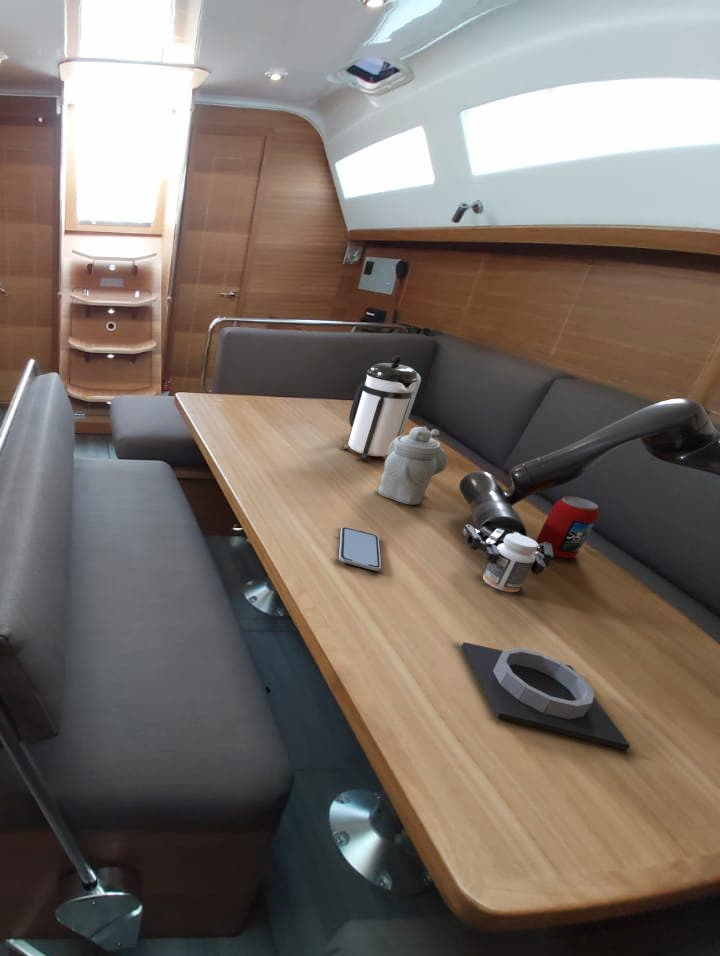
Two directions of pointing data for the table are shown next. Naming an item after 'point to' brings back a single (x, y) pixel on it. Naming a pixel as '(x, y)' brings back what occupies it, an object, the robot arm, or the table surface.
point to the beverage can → (568, 525)
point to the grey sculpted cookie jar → (412, 465)
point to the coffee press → (380, 407)
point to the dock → (533, 717)
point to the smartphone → (359, 548)
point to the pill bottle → (511, 563)
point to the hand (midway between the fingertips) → (516, 564)
